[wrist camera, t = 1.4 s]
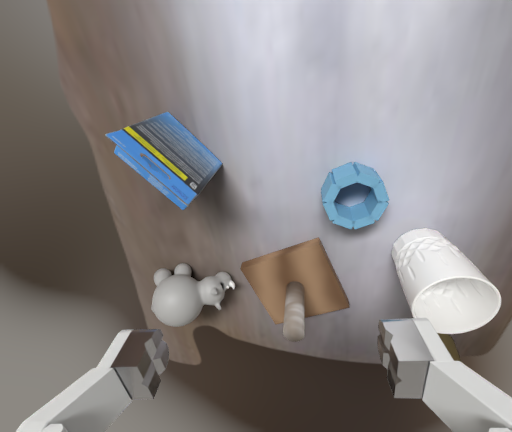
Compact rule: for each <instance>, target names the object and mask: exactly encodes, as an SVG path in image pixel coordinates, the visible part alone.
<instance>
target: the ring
mask: <svg viewBox="0 0 512 432" xmlns="http://www.w3.org/2000/svg"><path fill="white" fill-rule="evenodd" d="M332 172H333V173H330V172H329V174H328V176H327V178H326V180H325V182H324V184H323V186H322V188H321V190H322V192H321V194H322V201H323V206H324V208H325V210H326V212H327V215H328V217H329V219H330V221H331V220H332V222H333V223H334V224H337V225H340V226H343V227H345V228H348V229H352V227H354V229H358V228H361V227H364V226H367V225H370V224H373V223H375V222H374V220H377V221H378V220H379V218H380V217H381V215H382V213H383V212H384V210H385V209H386V207H387V206H388V204H389V203H388V202H387V201H389V198H388V195H387V192H386V189H385V186H384V183H383V181H382V180H381V178H380V177H379V175H378V174H377V172H376V171H374V169H373V168H370V167H367V166H365V165H362V164H359V163H356V162H354V164H353V165H352V163H351V162H350V163H347V164H345V165H342V166H340V167H338V168H335V169H333V170H332ZM357 182H358V183H361V184H364V185H366V186H369V187H371V191H370V192H369V194H368V196H367V197H366V199H365V201H364V202H363V203H360V204H357V205H354V206H351V207H347V206H344V205H341V204H339V203H336V202H335V198H336V196H337V194H338V192H339V191H340V189H341V188H343V187H346V186H349V185H351V184H354V183H357Z"/></svg>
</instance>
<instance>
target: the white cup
mask: <svg viewBox="0 0 512 432" xmlns="http://www.w3.org/2000/svg"><path fill="white" fill-rule="evenodd" d="M391 255H392V257H393V260H394V263H395V266H396V271H397V274H398V277H399V280H400V283H401V286H402V289H403V291H404V294H405V296H406V299H407V302H408V305H409V307H410V310H411V313H412V315H413V318H427V319H428V320H429V321H430V322H431V324H432V325H433V327H434V329H435V330H436V332H437V333H441V334H459V333H465V332H469V331H472V330H475V329H477V328H479V327H481V326H483V325H485V324H486V323H488V322H489V321H490V320H492V319H493V318H494V316H495V315H496V314H497V313H498V311H499V309H500V306H501V296H500V293H499V291H498V290H497V288H496V287H495V286H494V285H493V284H492V283H491V282H490V281H489V280H488V279H487V278H486V277H485V276H484V275H483V274H482V273H481V272H480V270H479V269H478V268H477V267H476V266H475V265H474V264H473V263H472V262H471V261H470V260H469V259H468V258H467V257H466V256H465V255H464V254H463V253H462V252H461V251H460V250H459V249H458V248H457V247H456V246H455V245H453V244H451V243H450V241H449V240H448V239H447V238H446V237H444V236H443V235H442V234H441V233H440V232H438V231H436V230H432V229H428V228H422V229H415V230H411V231H409V232H407V233H405V234H403V235H401V236H400V237H399V238H398V239H397V241H396V242H395V243H394V244H393V248H392V253H391Z"/></svg>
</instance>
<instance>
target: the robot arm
mask: <svg viewBox="0 0 512 432" xmlns="http://www.w3.org/2000/svg"><path fill="white" fill-rule="evenodd" d="M378 328H379V331H380V333H381V334H380V335H379V336H378V342H377V344H378V352H379V355H380V359H381V362H382V365H383V366H384V367H385V368H386V369H387V370H388V372H387V379H388V382H389V385H390V388H391V390H392V393H393V396H394V398H415V399H416V398H417V399H422V400H423V401H424V402H425V403H426V404H427V406H428V407H429V408H430V409H432V411H433V412H434V413H435V414H436V415H437V416H438V417H439V418H440V419H441V420H442V421H443V422H444V423H445V424H446V425H447V426H448V427H449V428H450V429H451V430H452V431H453V432H512V398H511V397H510V396H509V395H507V394H506V393H504V392H503V391H502V390H500V389H499V388H497V387H496V386H494V385H493V384H492V383H490V382H489V381H487V380H486V379H484V378H483V377H482V376H480V375H479V374H477V373H476V372H474V371H473V370H472V369H470V368H468V367H467V366H466V365H464V364H463V363H462V362H460V361H454V360H453V358H452V357H451V355H450V353H449V352H448V350H447V348H446V347H445V345H444V343H443V342H442V340H441V339H440V337H439V335H438V334H437V332H436V330H435V329H434V327H433V325H432V324H431V322H430V321H429V320H428V319H427V318H410V319H409V318H404V319H385V320H380V321H379V325H378ZM162 337H163V334H162V332H161V330H160V329H138V330H137V329H134V330H122V331H120V332H119V333H118V334H117V336H116V338H115V339H114V341H113V342H112V344H111V345H110V347H109V349H108V350H107V352H106V353H105V355H104V357H103V358H102V360H101V361H100V363H99V365H98V366H97V368H93V369H91V370H90V371H89V372H87V373H86V374H85V375H83V376H82V377H81V378H79V379H78V380H77V381H76V382H74V383H73V384H72V385H70V386H69V387H68V388H66V389H65V390H64V391H63V392H61V393H60V394H59V395H57V396H56V397H55V398H53V399H52V400H51V401H50V402H48V403H47V404H46V405H44V406H43V407H42V408H41V409H39V410H38V411H37V412H35V413H34V414H33V415H31V416H30V417H29V418H27V419H26V420H25V421H24V422H23V423H22V424H21V425H20V427H19V428H18V429H17V431H16V432H105V431H106V430H107V428H108V427H109V426H110V425H111V424H112V423H113V422H114V421H115V420H116V418H117V417H118V416H119V415H120V414H121V413H122V412H123V411H124V410H125V408H126V407H127V406H128V405H129V404H130V403H131V402H132V400H139V399H154V397H155V394H156V392H157V389H158V387H159V384H160V382H161V380H160V376H159V375H160V374H161V373H162V372H163V371H164V370H165V369H166V366H167V363H168V359H169V349H168V346H167V343H165V342H164V341H163V340H162Z"/></svg>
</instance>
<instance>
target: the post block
mask: <svg viewBox="0 0 512 432" xmlns="http://www.w3.org/2000/svg"><path fill="white" fill-rule="evenodd" d="M241 271H242V272H243V274H244V275H245V277H246V279H247V280H248V282H249V283H250V285H251V286H252V288H253V290H254V291H255V293H256V294H257V296H258V297H259V299H260V301H261V302H262V304H263V305H264V307H265V308H266V310H267V312H268V313H269V315H270V316H271V318H272V319H273V321H274V323H275V324H280V323H284V325H283V336H284V337H285V338H286V339H287V340H289V341H293V342H297V341H300V340H302V339H303V338H304V336H305V318H306V317H310V316H314V315H319V314H323V313H327V312H332V311H336V310H340V309H344V308H349V301H348V298H347V296H346V294H345V292H344V290H343V288H342V286H341V284H340V281H339V279H338V277H337V275H336V273H335V271H334V269H333V267H332V264H331V262H330V260H329V258H328V256H327V254H326V252H325V250H324V247H323V245H322V243H321V241H320V239H319V238H316V239H313V240H310V241H307V242H304V243H301V244H297V245H294V246H291V247H288V248H285V249H282V250H279V251H276V252H273V253H270V254H267V255H264V256H261V257H258V258H255V259H252V260H249V261H246V262H243V263H242V266H241Z"/></svg>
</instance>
